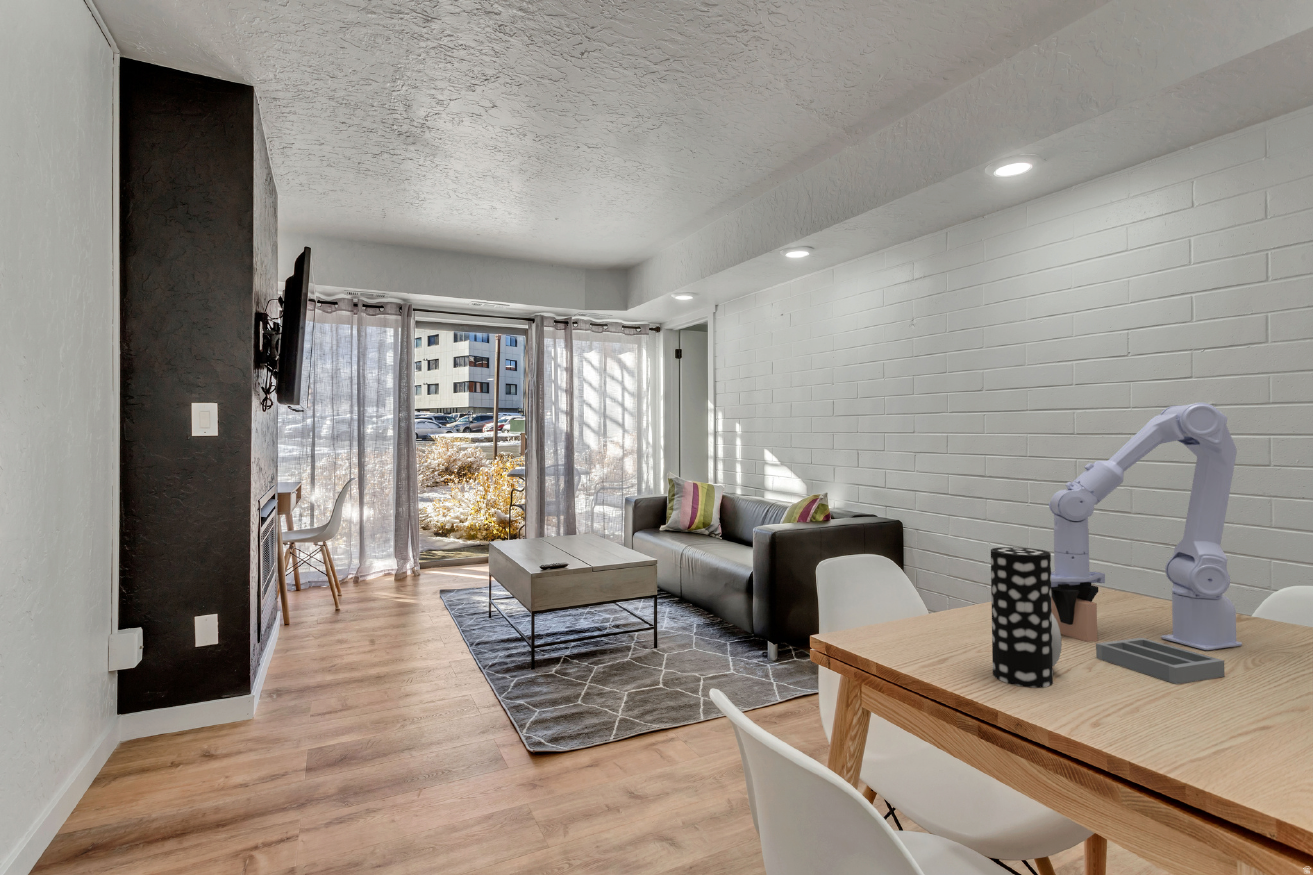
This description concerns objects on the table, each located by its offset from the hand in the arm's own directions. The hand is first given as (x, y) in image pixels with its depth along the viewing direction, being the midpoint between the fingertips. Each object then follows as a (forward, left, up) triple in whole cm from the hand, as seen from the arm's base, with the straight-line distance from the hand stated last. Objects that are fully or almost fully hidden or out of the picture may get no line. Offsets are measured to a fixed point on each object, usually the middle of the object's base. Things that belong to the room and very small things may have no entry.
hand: (1072, 622), depth 125 cm
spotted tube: (+28, +15, -3) cm, 32 cm away
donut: (+21, +12, -3) cm, 24 cm away
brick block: (0, 0, -2) cm, 2 cm away
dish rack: (+3, +18, -2) cm, 18 cm away
